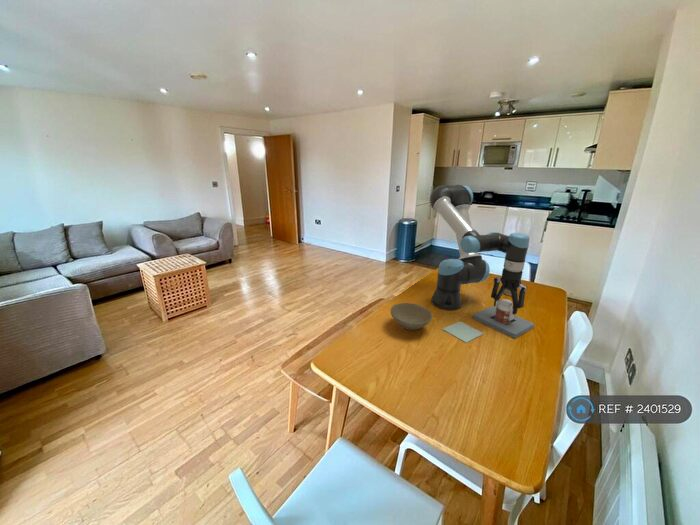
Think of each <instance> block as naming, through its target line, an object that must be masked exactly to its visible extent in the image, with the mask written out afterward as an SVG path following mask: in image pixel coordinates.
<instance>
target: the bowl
mask: <svg viewBox="0 0 700 525" xmlns="http://www.w3.org/2000/svg"><path fill="white" fill-rule="evenodd" d="M389 311H390V314H391V317H392V319H393V320H395V322H397V324H399V325H400V326H401V327H403V328H404V329H407V330H410V331H415V330H419V329H421V328H422V327H424V326H427V325H428V324H430V322H431V321H433V320H432V319H433V313H432V311H431V310H430V309H428V308H426V307H425V306H423V305H420V304H416V303H408V302H401V303H397V304H394V305H392V307H391V308H390V310H389Z"/></svg>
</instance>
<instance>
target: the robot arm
mask: <svg viewBox="0 0 700 525" xmlns="http://www.w3.org/2000/svg"><path fill="white" fill-rule="evenodd" d="M473 199H474V193H473V191H472V188H470V187H469V186H468V185H463V184H457V185H456V184H455V185H454V184H453V185H451V184H450V185H447V184H443V185H439V186H436V187H435V188H434V189H433V190H432V191H431V194H430V196H429V203H430V207H431V208H432V210H433V211H434V212H435V213H438V214H439V215H440V216H441V218H442V219H443V220H444V221H445V222H446V224H447V225H448V226H449V228H450V229H451V230H453V232H454V233H455V237H456V241H457V248H458V252H459V258H458V259H457V258H448V259H444V260H442V261H440V263H438V264H439V265H438V269H437V280H436V287H435V290H434V292H433V294H432V295H431V296H432V297H431V303H433V304H434V305H433V304H432V305H433V306H435V307H437V308H439V309H443V310H446V311H452V310H453V311H455V310H458V309H459V310H460V308H461V307H462V305H463V301H462V300H463V299H462V297H461V286H462V285H468V284H469V285H470V284H477V283H482V282H485V281H486V280H487V279H488V277H489V276H490V273H491V272H490V265H489V263H488V262H487V261H486V260H485V259H483V257H482V255H481V254H480V253H484V252H496V251H497V252H501V253H503V254H505V258H504V262H503V268H502V272H501V273H502V274H501V277H499V276H497V277H494V278H493V281H494V282H493V287H492V291H491V294H490V297H491V299H494V300H493V301H494V302H493V306H494V307H495V310H494V314H496V312H497V307H498V305H499V304H500V301H501V297H502V296H503V295H504V294H503V293H504V291H505V289H509V290H510V292H511V294H512V296H511V299H512V307H511V310H510V315H509V321H511V320H513V319H514V315H515V316H516V314H518V309H521V308H524V306H525V304H524V303H525V299H526V298H525V297H526V291H527V290H528V286H527V285H525V286H524V285H523V284H522V282H521V281H522V279H523V278H522V277H523V271H524V268H525V262H526V257H527V254H528V249H529V247H530V245H529V244H530V236H529V235H528V234H526V233H519V232H512V233H510V234H509V235H507V234H503V233H500V232H495V231H490V232H489V233H486V234H480V233H479V232H478V231H477V230H476V229H475V228H474V227H473V226H472V221H471V218H470V212H469V210H470V208H471V205H472V203H473ZM500 284H501V286H500ZM499 288H500V289H499ZM518 288H519V292H518ZM517 292H518V293H519V294H518V295H517Z"/></svg>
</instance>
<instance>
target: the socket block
mask: <svg viewBox="0 0 700 525" xmlns="http://www.w3.org/2000/svg"><path fill="white" fill-rule="evenodd" d="M494 310H495V306H494V305H491V306H489V307H487V308H485V309H484V308H483V309H482V310H480V311H478V312H476V313H473V314H472V319H473V320H475V321H477V322H479V323H481V324H483V325H485V326H487V327H490V328H492V329H494V330H496V331H498V332H500V333H502V334H504V335H506V336H508V337H510V338H512V339H513V340H515V339H517V338H519V337H520V336H522V335H524V334H525V333H527V332H529V331H530V330H532V329H534V328H535V324H536V323H535V322H532V321H529V320H526V319H524V318H522V317H521V316H517V315H516V314H515V315H514V319H513V320H511V321H510V324H508V325H505V324H503V323H500V322H498V321H496V320H495V317H496V314H494Z"/></svg>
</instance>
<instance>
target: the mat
mask: <svg viewBox="0 0 700 525" xmlns="http://www.w3.org/2000/svg"><path fill="white" fill-rule="evenodd" d="M442 330H443V331H444V332H446V333H447V334H450V335H451V336H453V337H454V338H456V339H458V340H460V341H462V342H463V343H464V344H467V343H469V342H471V341H473V340H475V339H477V338H479V337H481V336H483V335H484V332H481V331H480V330H478V329H476V328H473V327H472V326H470V325H468V324H466V323H464V322H463V321H457V322H455V323H452V324H450V325H449V326H446V327H444V328H442Z"/></svg>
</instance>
